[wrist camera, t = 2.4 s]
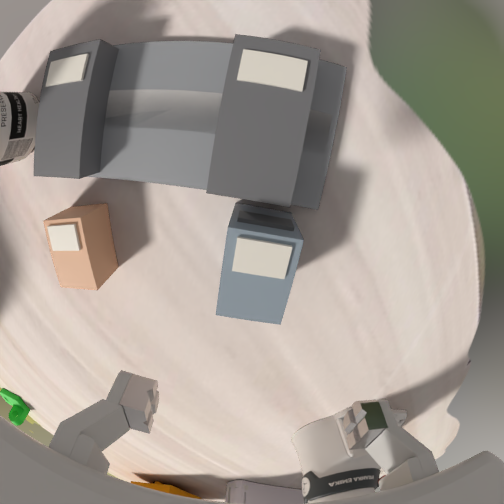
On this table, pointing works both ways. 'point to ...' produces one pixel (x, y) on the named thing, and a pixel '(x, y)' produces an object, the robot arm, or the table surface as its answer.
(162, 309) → the table surface
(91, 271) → the block
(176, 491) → the control box
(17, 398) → the mechanical part
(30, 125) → the supplement can
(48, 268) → the table surface
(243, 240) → the module
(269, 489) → the game console
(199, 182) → the rail base
